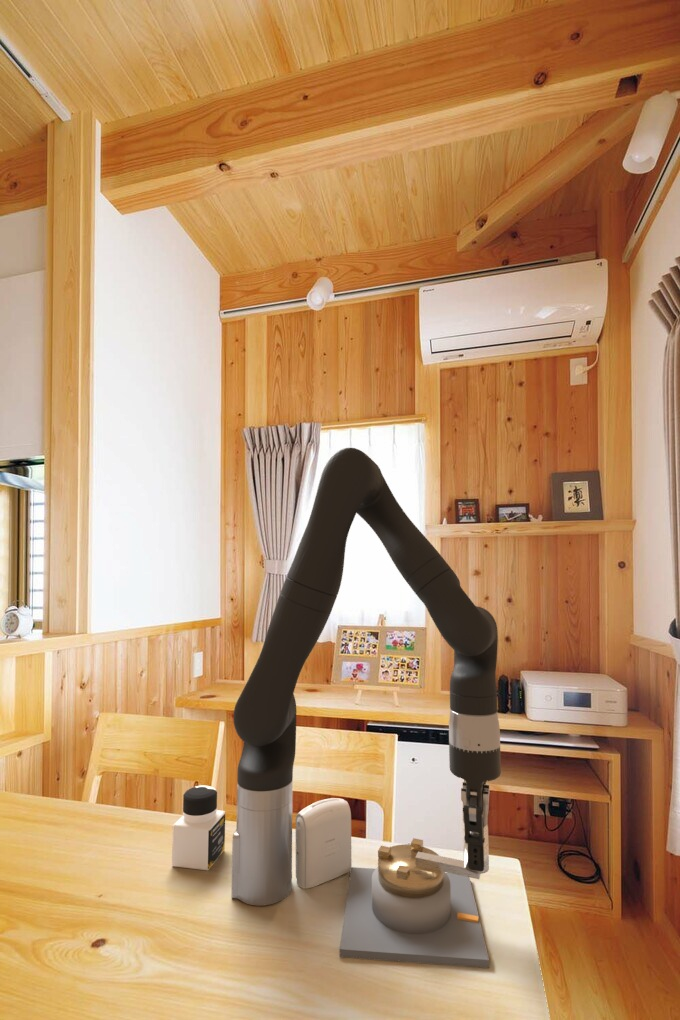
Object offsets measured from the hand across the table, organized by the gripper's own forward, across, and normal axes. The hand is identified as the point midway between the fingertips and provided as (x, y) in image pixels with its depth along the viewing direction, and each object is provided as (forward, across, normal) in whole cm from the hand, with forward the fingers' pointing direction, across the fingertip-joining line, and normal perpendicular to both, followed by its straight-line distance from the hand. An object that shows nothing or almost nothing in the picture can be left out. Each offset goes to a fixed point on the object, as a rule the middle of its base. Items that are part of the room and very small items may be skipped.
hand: (477, 860), depth 80 cm
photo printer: (+10, +6, +26) cm, 29 cm away
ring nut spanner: (+4, 0, +7) cm, 8 cm away
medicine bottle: (+10, +5, +50) cm, 51 cm away
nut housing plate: (+10, +1, +10) cm, 14 cm away
